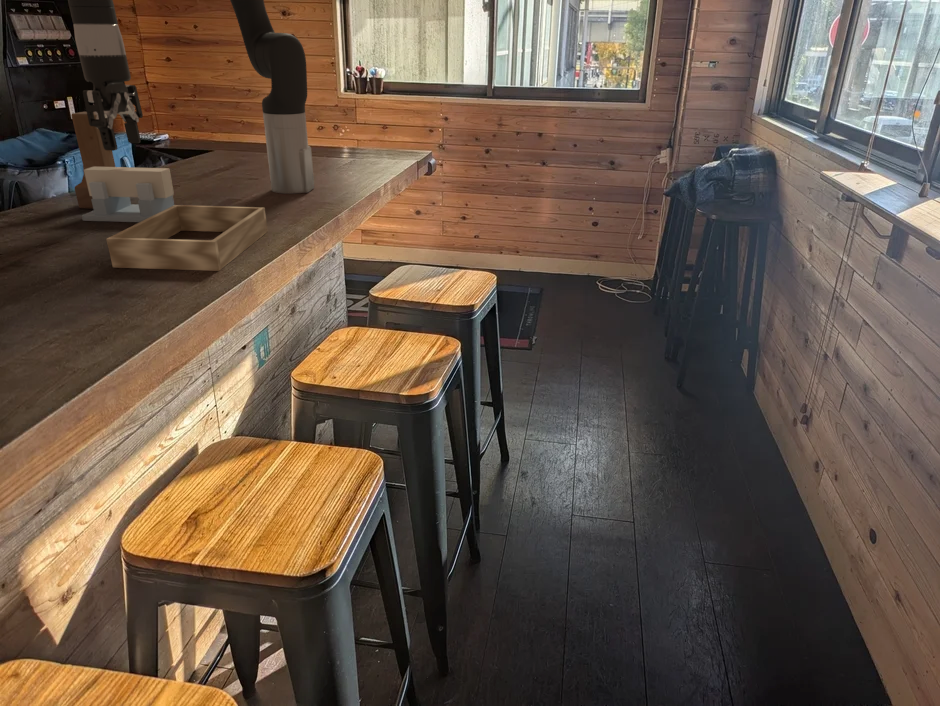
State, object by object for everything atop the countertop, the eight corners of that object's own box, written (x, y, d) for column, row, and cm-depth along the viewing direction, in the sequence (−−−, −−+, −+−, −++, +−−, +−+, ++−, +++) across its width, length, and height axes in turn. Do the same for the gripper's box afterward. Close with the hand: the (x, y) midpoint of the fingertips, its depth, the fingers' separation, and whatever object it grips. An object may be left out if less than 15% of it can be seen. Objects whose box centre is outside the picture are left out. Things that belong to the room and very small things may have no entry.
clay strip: (174, 194, 128) (169, 168, 126) (165, 198, 125) (160, 171, 123) (99, 192, 129) (94, 166, 127) (89, 196, 126) (83, 169, 123)
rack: (187, 210, 133) (181, 175, 130) (164, 222, 124) (157, 185, 121) (111, 208, 133) (103, 173, 130) (82, 220, 124) (73, 183, 121)
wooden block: (99, 209, 133) (78, 116, 125) (78, 208, 133) (55, 115, 125) (123, 199, 141) (104, 111, 133) (103, 199, 141) (83, 111, 133)
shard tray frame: (267, 231, 119) (264, 207, 117) (219, 270, 99) (214, 242, 97) (179, 229, 120) (174, 205, 118) (112, 267, 100) (106, 238, 98)
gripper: (100, 54, 109) (123, 153, 117) (142, 51, 122) (160, 141, 129) (57, 53, 110) (82, 152, 117) (103, 51, 122) (123, 140, 130)
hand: (123, 146), depth 123 cm, fingers open, 8 cm apart
